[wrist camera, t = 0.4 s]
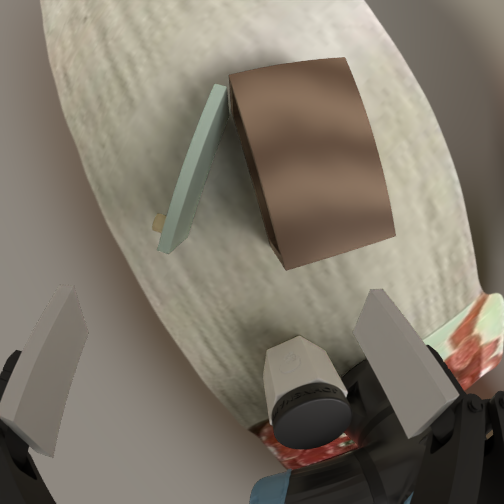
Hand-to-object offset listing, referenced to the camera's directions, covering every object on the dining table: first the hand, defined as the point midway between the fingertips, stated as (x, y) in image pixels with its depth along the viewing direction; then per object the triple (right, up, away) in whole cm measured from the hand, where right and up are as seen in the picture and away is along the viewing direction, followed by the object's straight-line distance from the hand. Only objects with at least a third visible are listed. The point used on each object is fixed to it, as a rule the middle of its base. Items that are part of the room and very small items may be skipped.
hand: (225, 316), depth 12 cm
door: (-5, +11, +17) cm, 21 cm away
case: (+6, +12, +18) cm, 23 cm away
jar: (+7, -12, +24) cm, 27 cm away
